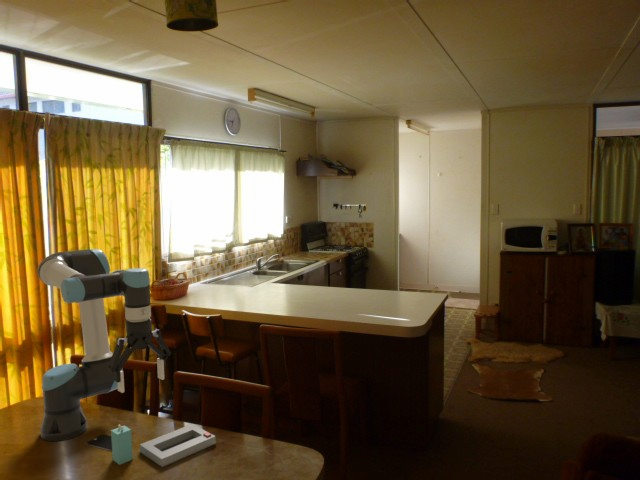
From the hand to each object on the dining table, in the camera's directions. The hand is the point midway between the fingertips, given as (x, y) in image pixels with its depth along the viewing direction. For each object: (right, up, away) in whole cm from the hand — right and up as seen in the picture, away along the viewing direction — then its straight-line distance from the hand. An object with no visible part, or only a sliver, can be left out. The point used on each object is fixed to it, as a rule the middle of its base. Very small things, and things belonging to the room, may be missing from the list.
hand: (141, 384), depth 165 cm
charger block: (-8, -25, +4) cm, 27 cm away
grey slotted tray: (+9, -24, +11) cm, 28 cm away
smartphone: (-16, -25, +15) cm, 33 cm away
